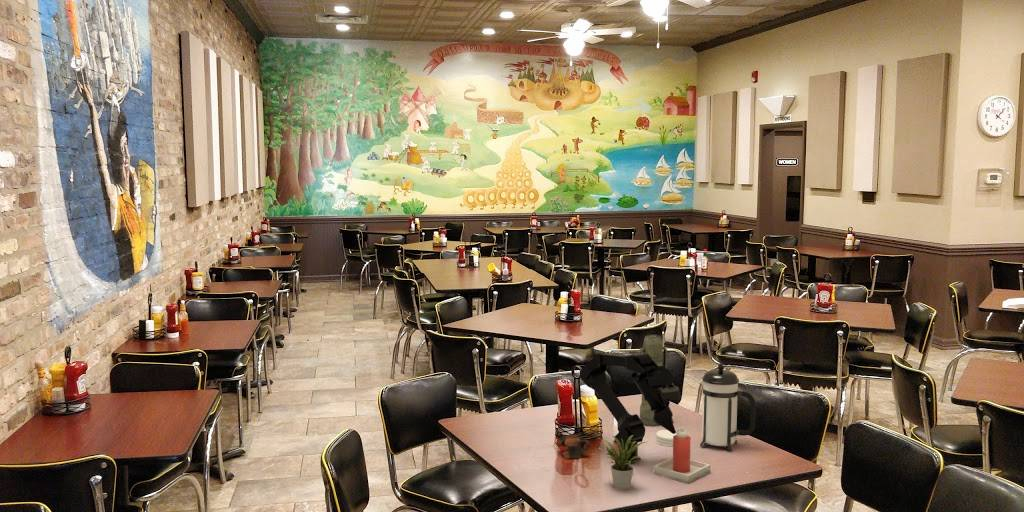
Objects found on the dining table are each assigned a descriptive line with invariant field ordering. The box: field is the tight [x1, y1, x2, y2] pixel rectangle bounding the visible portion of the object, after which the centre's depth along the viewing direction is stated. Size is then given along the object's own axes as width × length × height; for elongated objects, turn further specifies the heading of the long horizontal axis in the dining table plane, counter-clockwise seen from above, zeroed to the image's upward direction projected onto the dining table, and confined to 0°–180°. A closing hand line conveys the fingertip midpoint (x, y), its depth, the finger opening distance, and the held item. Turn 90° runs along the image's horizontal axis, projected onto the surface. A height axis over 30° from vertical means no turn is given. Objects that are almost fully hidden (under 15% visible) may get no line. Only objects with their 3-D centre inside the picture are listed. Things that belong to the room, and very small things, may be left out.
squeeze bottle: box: [672, 425, 692, 473], centre depth 276 cm, size 6×6×15 cm
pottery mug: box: [556, 434, 592, 460], centre depth 294 cm, size 12×10×8 cm
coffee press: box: [698, 363, 757, 452], centre depth 302 cm, size 17×16×30 cm
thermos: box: [637, 334, 668, 428], centre depth 329 cm, size 9×12×35 cm
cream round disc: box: [655, 429, 676, 448], centre depth 307 cm, size 10×10×4 cm
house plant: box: [603, 435, 647, 490], centre depth 264 cm, size 14×14×16 cm
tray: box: [652, 457, 711, 484], centre depth 276 cm, size 14×13×2 cm
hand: (673, 428), depth 281 cm, fingers open, 9 cm apart
